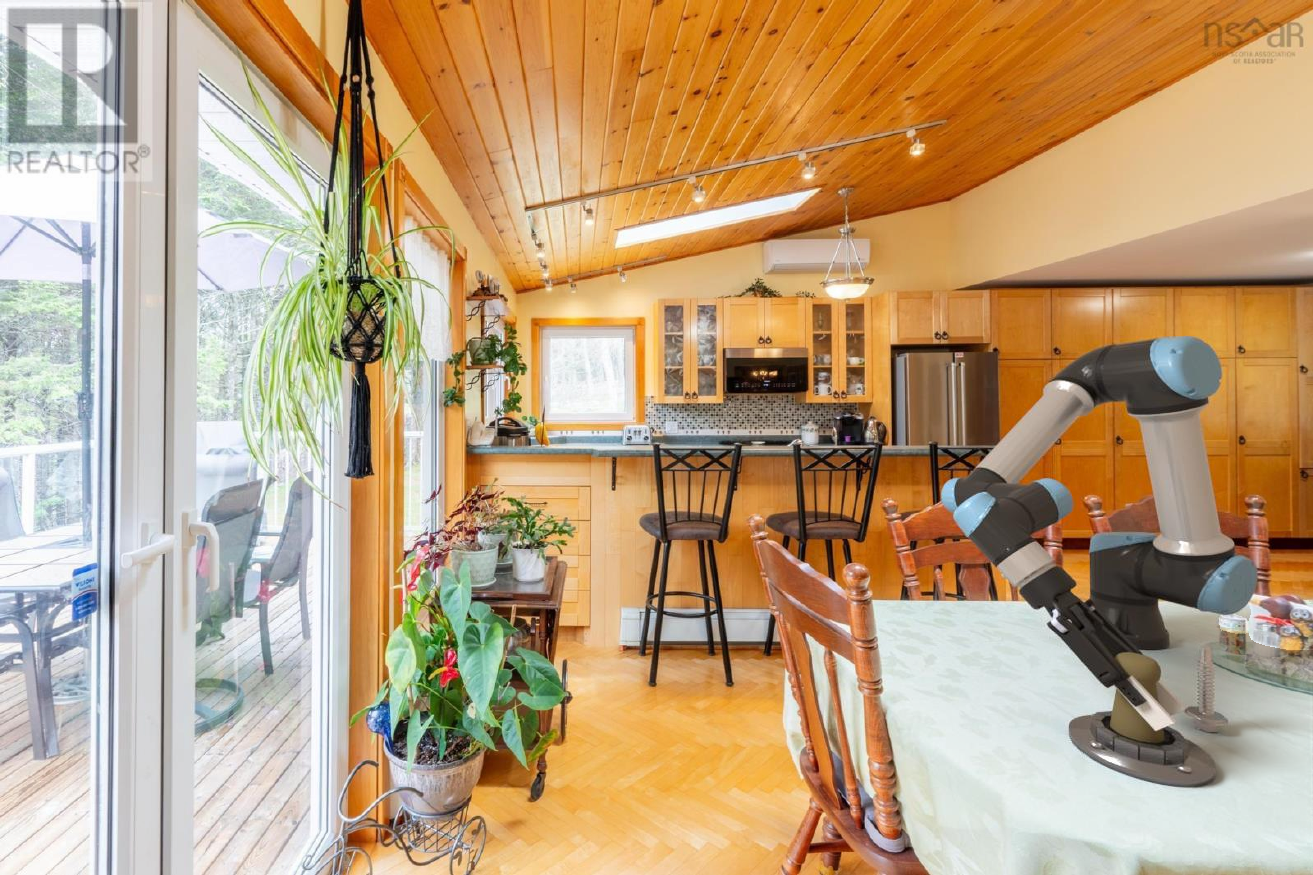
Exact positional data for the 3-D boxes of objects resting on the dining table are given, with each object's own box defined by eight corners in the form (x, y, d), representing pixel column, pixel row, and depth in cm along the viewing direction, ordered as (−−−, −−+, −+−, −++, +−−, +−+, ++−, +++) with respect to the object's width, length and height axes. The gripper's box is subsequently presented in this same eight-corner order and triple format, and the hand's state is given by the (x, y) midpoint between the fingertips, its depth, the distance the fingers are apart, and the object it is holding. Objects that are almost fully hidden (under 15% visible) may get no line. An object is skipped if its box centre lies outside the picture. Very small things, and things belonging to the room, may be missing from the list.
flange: (1134, 718, 90) (1134, 699, 90) (1250, 781, 74) (1250, 757, 74) (1042, 726, 88) (1042, 706, 88) (1140, 792, 72) (1141, 767, 72)
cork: (1169, 747, 77) (1170, 668, 77) (1113, 735, 80) (1113, 658, 80) (1159, 727, 82) (1159, 652, 82) (1106, 716, 85) (1107, 644, 85)
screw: (1185, 730, 86) (1182, 717, 90) (1230, 741, 83) (1225, 727, 87) (1186, 646, 86) (1183, 637, 90) (1230, 654, 83) (1225, 644, 87)
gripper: (1040, 580, 98) (1163, 710, 85) (993, 600, 88) (1126, 752, 75) (1076, 555, 94) (1212, 688, 81) (1032, 573, 83) (1180, 730, 70)
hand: (1170, 719), depth 78 cm, fingers closed on cork, 5 cm apart
